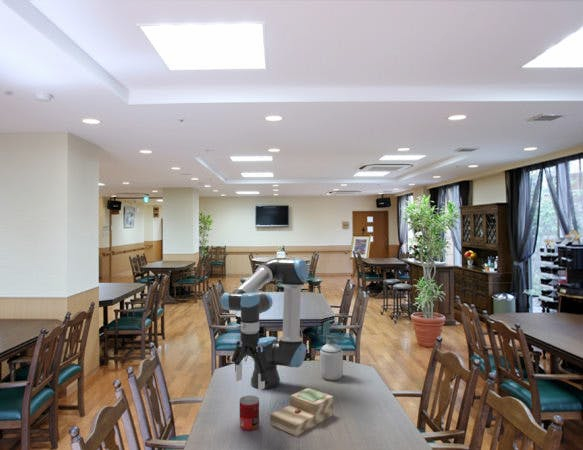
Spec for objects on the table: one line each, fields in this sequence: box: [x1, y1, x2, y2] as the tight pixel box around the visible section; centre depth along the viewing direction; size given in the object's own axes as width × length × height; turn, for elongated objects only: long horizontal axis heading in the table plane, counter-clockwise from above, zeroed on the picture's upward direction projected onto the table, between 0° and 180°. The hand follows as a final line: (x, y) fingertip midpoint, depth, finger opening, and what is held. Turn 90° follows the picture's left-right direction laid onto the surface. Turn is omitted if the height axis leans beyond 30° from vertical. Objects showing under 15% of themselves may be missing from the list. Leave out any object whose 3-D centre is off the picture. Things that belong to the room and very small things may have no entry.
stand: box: [269, 387, 334, 437], centre depth 168 cm, size 24×14×8 cm, turn 138°
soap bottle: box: [319, 319, 344, 381], centre depth 217 cm, size 12×12×31 cm
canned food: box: [239, 395, 260, 432], centre depth 162 cm, size 8×8×11 cm
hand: (249, 384), depth 162 cm, fingers open, 13 cm apart
